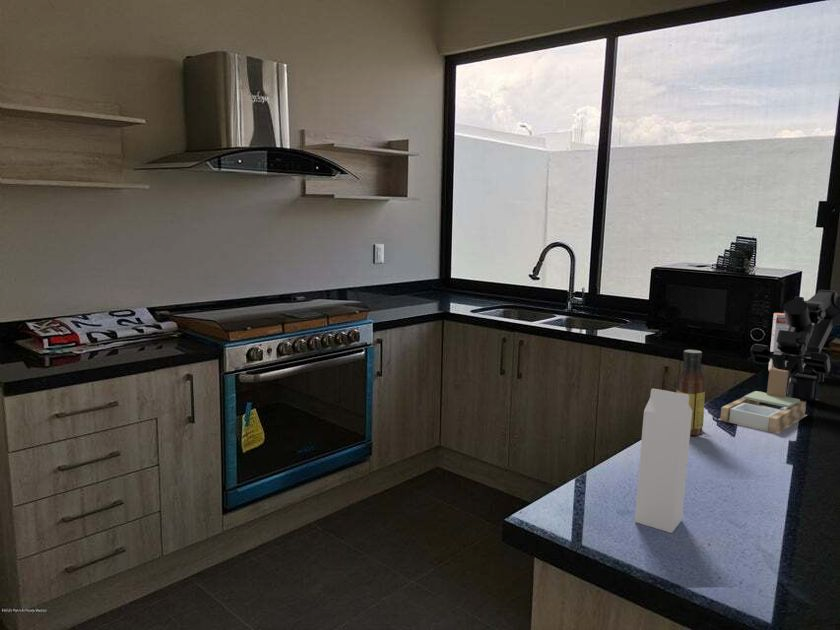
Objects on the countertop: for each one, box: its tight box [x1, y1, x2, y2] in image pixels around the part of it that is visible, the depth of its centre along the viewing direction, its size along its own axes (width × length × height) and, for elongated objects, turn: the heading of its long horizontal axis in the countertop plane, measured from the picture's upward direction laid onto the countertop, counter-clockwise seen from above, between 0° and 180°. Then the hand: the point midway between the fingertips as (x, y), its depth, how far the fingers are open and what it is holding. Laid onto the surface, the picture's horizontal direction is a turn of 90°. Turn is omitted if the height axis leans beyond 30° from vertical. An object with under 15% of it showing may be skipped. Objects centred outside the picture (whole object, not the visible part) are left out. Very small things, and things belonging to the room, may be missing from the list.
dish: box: [729, 403, 782, 430], centre depth 159 cm, size 9×9×3 cm
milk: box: [634, 388, 692, 534], centre depth 103 cm, size 6×6×22 cm
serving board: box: [717, 396, 808, 435], centre depth 164 cm, size 24×14×4 cm, turn 134°
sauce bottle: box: [676, 349, 706, 436], centre depth 150 cm, size 6×6×20 cm
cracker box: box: [767, 312, 814, 371], centre depth 219 cm, size 14×6×21 cm, turn 71°
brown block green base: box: [743, 368, 800, 408], centre depth 166 cm, size 9×11×8 cm
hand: (779, 382), depth 170 cm, fingers closed
